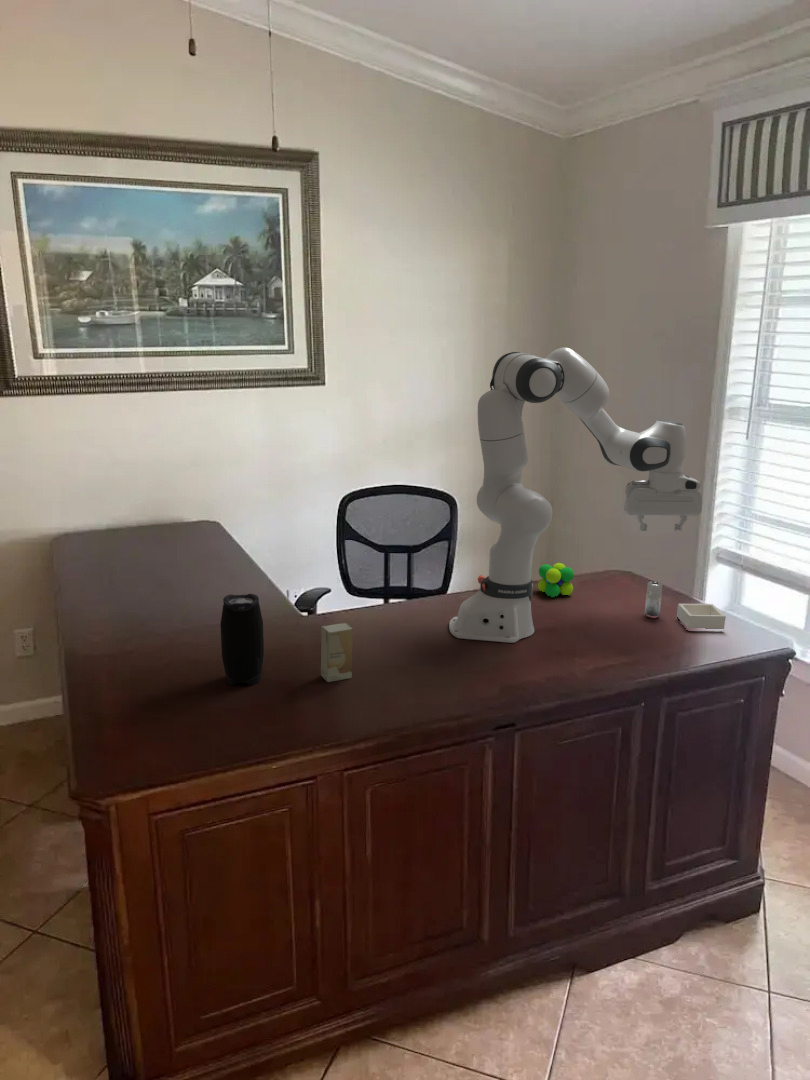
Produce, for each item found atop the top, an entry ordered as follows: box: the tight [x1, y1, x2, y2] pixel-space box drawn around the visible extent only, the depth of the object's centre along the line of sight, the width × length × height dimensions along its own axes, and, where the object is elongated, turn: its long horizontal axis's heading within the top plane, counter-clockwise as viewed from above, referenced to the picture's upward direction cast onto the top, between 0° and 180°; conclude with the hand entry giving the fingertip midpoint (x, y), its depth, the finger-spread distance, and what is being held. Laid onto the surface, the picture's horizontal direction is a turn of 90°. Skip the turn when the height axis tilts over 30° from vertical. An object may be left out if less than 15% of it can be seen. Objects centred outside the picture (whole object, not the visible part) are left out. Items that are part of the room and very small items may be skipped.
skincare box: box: [320, 622, 354, 683], centre depth 197 cm, size 6×4×12 cm
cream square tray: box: [676, 603, 726, 630], centre depth 233 cm, size 10×10×4 cm
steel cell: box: [644, 580, 664, 616], centre depth 239 cm, size 4×4×10 cm
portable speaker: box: [220, 593, 265, 686], centre depth 193 cm, size 9×9×20 cm
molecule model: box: [537, 562, 575, 598], centre depth 257 cm, size 9×9×9 cm
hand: (660, 530), depth 234 cm, fingers open, 8 cm apart
